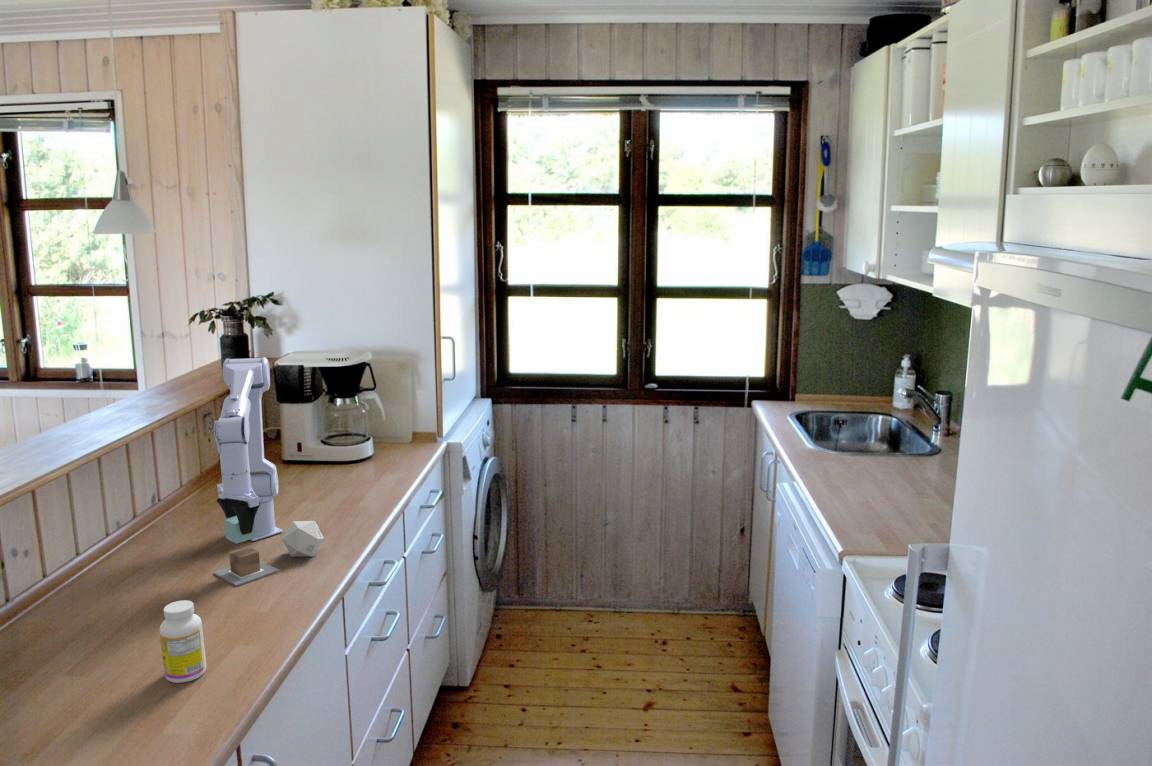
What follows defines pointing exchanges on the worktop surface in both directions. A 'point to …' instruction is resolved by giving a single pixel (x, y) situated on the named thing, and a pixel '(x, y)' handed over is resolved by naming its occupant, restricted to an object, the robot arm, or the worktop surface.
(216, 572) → the grey square plate
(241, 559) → the walnut block
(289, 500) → the worktop surface
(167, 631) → the supplement bottle
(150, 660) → the worktop surface
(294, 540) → the die
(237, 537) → the teal block
